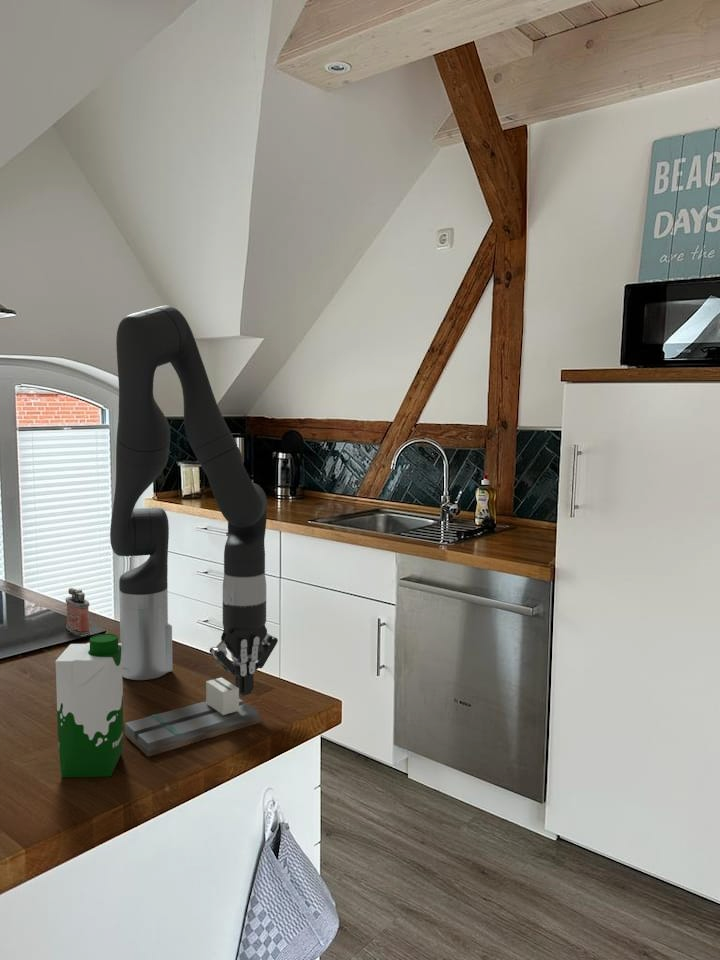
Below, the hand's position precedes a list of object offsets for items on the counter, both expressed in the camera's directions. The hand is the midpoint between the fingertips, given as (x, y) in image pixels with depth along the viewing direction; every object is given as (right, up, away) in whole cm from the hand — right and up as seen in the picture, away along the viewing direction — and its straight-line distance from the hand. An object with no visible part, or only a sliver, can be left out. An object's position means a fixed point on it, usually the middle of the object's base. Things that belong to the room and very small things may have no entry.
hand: (244, 693), depth 133 cm
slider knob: (-3, -3, -3) cm, 5 cm away
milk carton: (-20, -6, -19) cm, 28 cm away
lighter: (-45, +2, +43) cm, 63 cm away
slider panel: (-8, -4, -6) cm, 11 cm away
